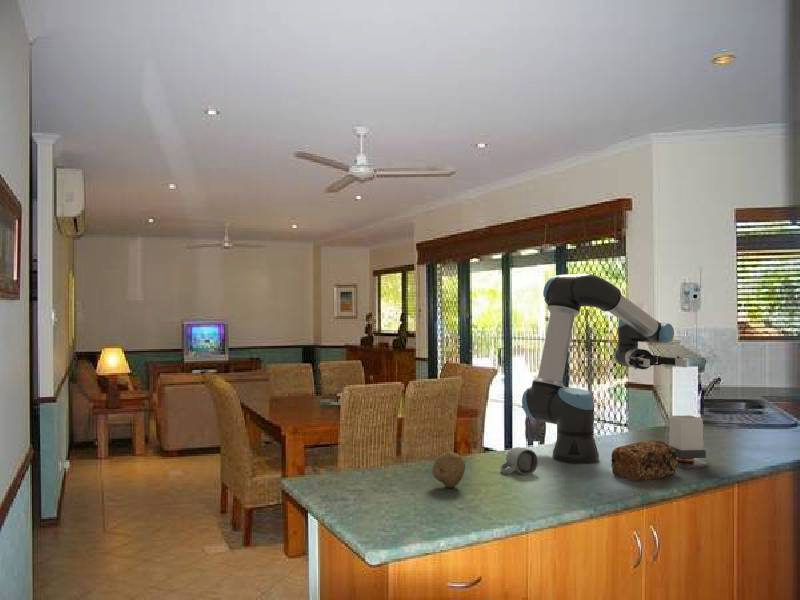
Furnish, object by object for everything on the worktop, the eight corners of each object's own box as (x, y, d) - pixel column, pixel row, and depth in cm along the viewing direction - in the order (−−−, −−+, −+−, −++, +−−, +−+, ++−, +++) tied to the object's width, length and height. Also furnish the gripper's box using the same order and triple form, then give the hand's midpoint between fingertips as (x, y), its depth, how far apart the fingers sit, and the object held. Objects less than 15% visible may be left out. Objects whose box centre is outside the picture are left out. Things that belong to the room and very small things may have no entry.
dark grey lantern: (687, 469, 215) (687, 431, 215) (662, 462, 224) (662, 426, 224) (709, 466, 219) (709, 429, 219) (683, 459, 228) (683, 424, 228)
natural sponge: (438, 492, 184) (438, 456, 184) (428, 484, 193) (428, 449, 193) (469, 490, 186) (469, 454, 187) (458, 482, 195) (458, 448, 195)
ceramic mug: (525, 468, 214) (525, 443, 214) (538, 474, 206) (538, 449, 206) (495, 471, 210) (495, 446, 211) (507, 477, 203) (507, 451, 203)
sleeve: (681, 450, 218) (681, 419, 218) (669, 445, 225) (669, 415, 225) (702, 450, 218) (702, 419, 219) (690, 445, 226) (690, 415, 226)
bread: (649, 468, 216) (650, 437, 216) (678, 475, 207) (679, 443, 207) (609, 475, 206) (609, 442, 206) (637, 483, 197) (638, 449, 197)
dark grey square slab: (679, 458, 217) (679, 450, 217) (666, 452, 225) (666, 445, 225) (705, 457, 218) (705, 450, 218) (690, 452, 226) (690, 444, 226)
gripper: (670, 368, 259) (700, 374, 238) (607, 368, 256) (633, 374, 235) (670, 349, 259) (701, 352, 238) (607, 348, 256) (633, 352, 235)
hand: (667, 363), depth 236 cm, fingers open, 13 cm apart
